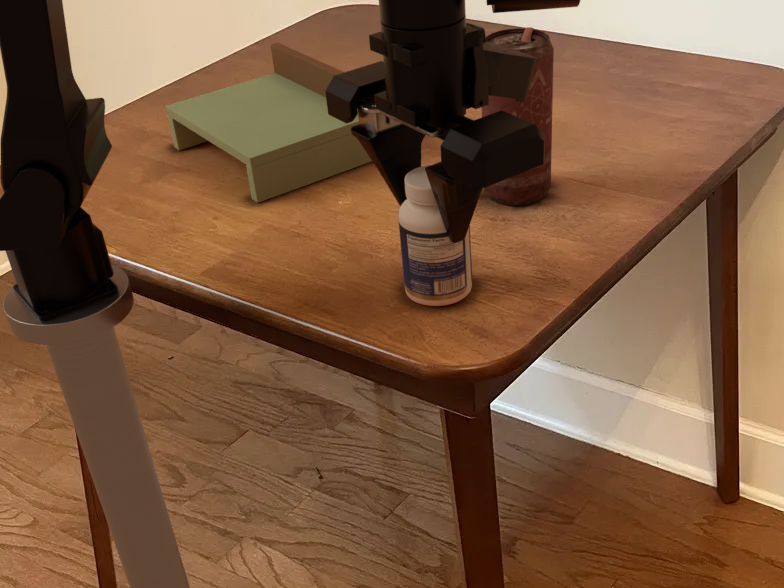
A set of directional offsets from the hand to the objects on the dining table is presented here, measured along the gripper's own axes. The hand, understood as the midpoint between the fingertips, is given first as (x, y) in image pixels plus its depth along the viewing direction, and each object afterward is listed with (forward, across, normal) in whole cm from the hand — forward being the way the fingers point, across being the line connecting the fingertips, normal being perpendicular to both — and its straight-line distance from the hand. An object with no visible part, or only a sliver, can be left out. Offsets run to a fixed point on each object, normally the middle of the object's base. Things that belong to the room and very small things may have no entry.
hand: (434, 227), depth 78 cm
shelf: (+6, +33, -4) cm, 34 cm away
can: (+6, +9, -16) cm, 19 cm away
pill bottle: (+6, 0, 0) cm, 6 cm away
